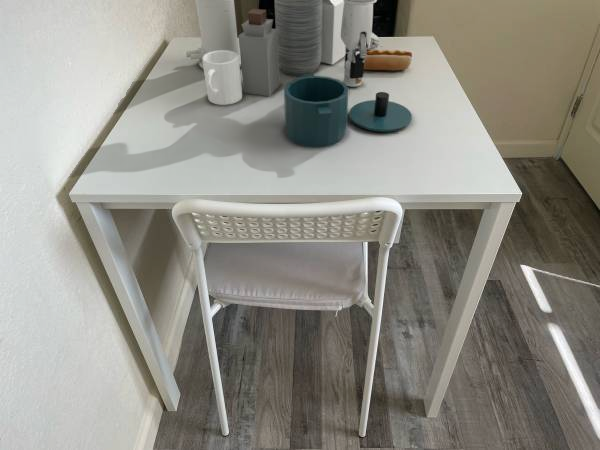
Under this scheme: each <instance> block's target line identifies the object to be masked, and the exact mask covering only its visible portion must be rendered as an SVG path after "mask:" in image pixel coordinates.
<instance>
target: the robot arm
mask: <svg viewBox="0 0 600 450" xmlns="http://www.w3.org/2000/svg"><path fill="white" fill-rule="evenodd" d="M194 1H195V6H196V14H197V20H198V27H199V34H200V40H201V45H200V47H197V48H196V49H194V48H193V49H191V48H190V49H185V54H186V58H190V59H191V60H198V65H199V67H200V68H201V69H202V70H204V68H203V61H202V58H203V56H204V55H205V54H207V53H209V52H213V51H218V50H227V51H232V52H235V53H236V54H237V55H238V56H239V66H240V68H242V67H241V57H240V47H239V37H238V30H237V19H236V8H235V0H194ZM343 1H344V7H343V15H342V25H341V39H342V41H343V42H344V44H345V56H344V63H345V62H346V61H347V60H348V57H347V56H348V52H349V51H352V62H351V65H350V78H351V79H355V78H362V79H363V77H364V71H365V70H364V62H365V57H366V56H367V51H369V50H370V49H369V47H370V42H371V34H372V33H373V19H374V18H373V17H374V4H375V3H377V1H378V0H343ZM358 46H359V47H360V48H358ZM359 51H360V52H359ZM356 52H359V54H357V55H356ZM343 68H344V69H345V65H344V67H343Z"/></svg>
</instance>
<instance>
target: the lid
mask: <svg viewBox="0 0 600 450" xmlns="http://www.w3.org/2000/svg"><path fill="white" fill-rule="evenodd" d="M389 100H390V94H389V93H388V92H385V91H378V92H376V93H375V99H371V100H365V101H361V102H358V103H356V104H354V105H353V106H352V107H351V108H350V109H349V112H348V116H349V119H350V121H351V122H352V123H353V124H355V125H356V126H358V127H359V128H361V129H365V130H368V131H373V132H394V131H399V130H402V129H404V128H406V127H407V126H408V125H410V123H411V121H412V118H413V116H412V115H413V114H412V112H411V111H410V110H409V109H408V108H407V107H406V106H404V105H402V104H400V103H397V102H394V101H389Z"/></svg>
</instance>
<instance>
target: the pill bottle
mask: <svg viewBox="0 0 600 450" xmlns="http://www.w3.org/2000/svg"><path fill="white" fill-rule="evenodd" d="M359 52H360V51H359ZM359 52H356V55H357V54H359ZM347 57H348V60H347V61H346V62H345V61H344V66H345V68H344V75H343V83H345V84H346V86H347V87H353V88H354V87H359V86H361V85H362V80H363V77H362V78H355V79H351V78H350V65H351V62H352V51H349V52H348V56H347Z"/></svg>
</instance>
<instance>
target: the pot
mask: <svg viewBox="0 0 600 450" xmlns="http://www.w3.org/2000/svg"><path fill="white" fill-rule="evenodd" d="M349 91H350V90H349V86H347V85H346V84H345V83H344V81H341V80H340V79H339V78H333V77H330V76H325V75H324V76H322V75H315V74H314V73H311V74H306V75H303V76H301V77H299V78H295V79H293V80H291V81H289V82H288V83H287V84H286V85H285V86H284V88H283V98H284V100H283V101H284V127H285V128H284V129H285V135H286V137H287V138H288V139H289V140H290V141H291V142H292V143H295V144H297V145H300V146H304V147H307V148H323V147H328V146H333V145H335V144H337V143H339V142H340V141H342V140H343V139H344V137H346V136H345V135H346V131H347V123H348V122H347V121H348V107H349Z"/></svg>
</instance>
